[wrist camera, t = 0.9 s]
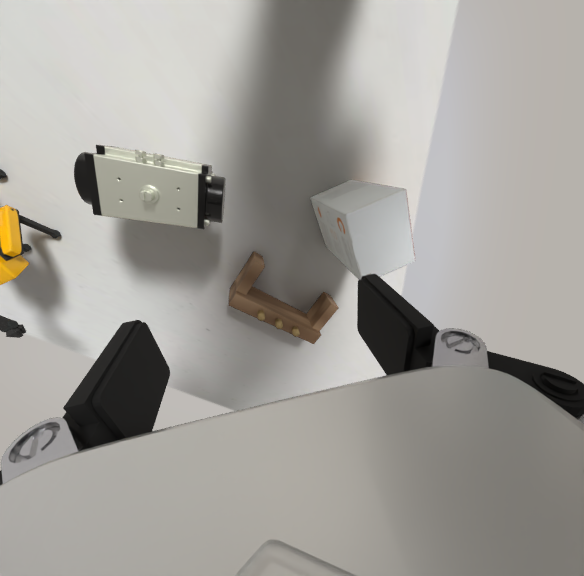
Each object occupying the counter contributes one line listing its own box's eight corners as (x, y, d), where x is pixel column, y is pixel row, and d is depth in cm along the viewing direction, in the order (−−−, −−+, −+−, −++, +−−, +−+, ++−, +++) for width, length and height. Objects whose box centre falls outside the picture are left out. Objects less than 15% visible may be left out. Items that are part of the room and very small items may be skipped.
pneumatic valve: (225, 210, 33) (219, 234, 22) (125, 195, 30) (65, 214, 20) (228, 164, 31) (223, 167, 20) (120, 143, 28) (48, 133, 17)
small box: (364, 231, 38) (417, 262, 27) (325, 248, 38) (362, 286, 27) (351, 177, 34) (407, 187, 23) (308, 196, 34) (343, 215, 23)
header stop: (253, 251, 36) (256, 267, 31) (330, 295, 42) (343, 315, 37) (229, 288, 38) (228, 309, 33) (306, 325, 44) (315, 349, 39)
